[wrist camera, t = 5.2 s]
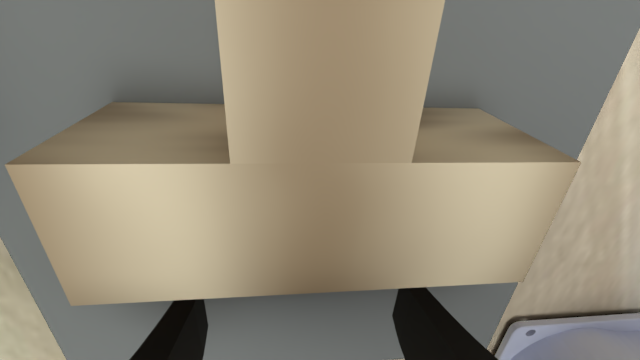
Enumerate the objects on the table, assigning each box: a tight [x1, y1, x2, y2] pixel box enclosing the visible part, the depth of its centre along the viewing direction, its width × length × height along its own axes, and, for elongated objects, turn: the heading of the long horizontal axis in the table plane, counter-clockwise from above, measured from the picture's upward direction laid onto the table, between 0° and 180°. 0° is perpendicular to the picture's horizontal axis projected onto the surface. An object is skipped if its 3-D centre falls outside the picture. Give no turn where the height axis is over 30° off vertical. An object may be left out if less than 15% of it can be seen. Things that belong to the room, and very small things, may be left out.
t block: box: [5, 0, 581, 306], centre depth 7 cm, size 11×10×4 cm
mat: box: [0, 0, 640, 360], centre depth 11 cm, size 20×20×1 cm
